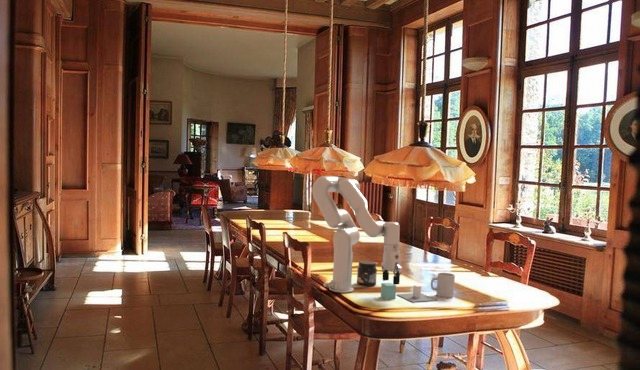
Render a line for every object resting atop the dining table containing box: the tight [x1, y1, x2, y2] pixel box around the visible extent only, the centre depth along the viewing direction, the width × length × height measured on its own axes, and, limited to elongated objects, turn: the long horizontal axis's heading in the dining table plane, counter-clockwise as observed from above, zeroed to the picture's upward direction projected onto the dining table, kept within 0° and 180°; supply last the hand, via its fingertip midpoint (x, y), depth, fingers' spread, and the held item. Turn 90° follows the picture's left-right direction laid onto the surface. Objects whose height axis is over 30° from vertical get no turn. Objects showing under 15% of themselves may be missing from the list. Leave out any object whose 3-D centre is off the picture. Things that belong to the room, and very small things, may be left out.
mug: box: [430, 272, 456, 299], centre depth 272 cm, size 12×8×11 cm
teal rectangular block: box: [380, 282, 397, 300], centre depth 262 cm, size 5×5×7 cm
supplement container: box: [356, 260, 378, 288], centre depth 288 cm, size 10×10×12 cm
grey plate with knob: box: [396, 284, 438, 304], centre depth 264 cm, size 14×14×6 cm
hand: (390, 282), depth 262 cm, fingers open, 9 cm apart
